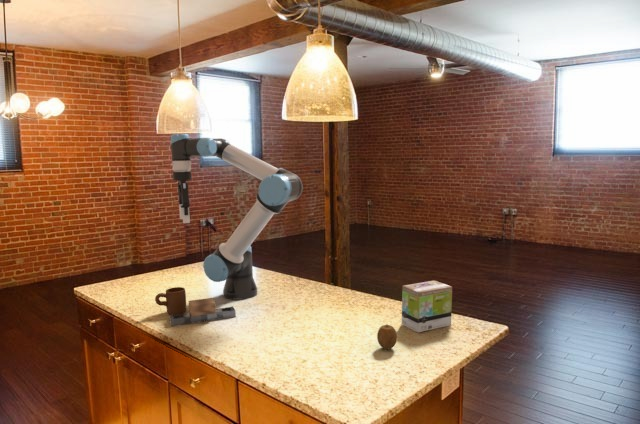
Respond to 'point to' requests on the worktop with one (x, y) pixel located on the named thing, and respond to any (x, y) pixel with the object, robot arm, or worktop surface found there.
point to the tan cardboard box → (202, 307)
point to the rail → (202, 317)
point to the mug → (173, 300)
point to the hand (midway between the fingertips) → (184, 221)
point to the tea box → (426, 305)
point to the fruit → (387, 336)
